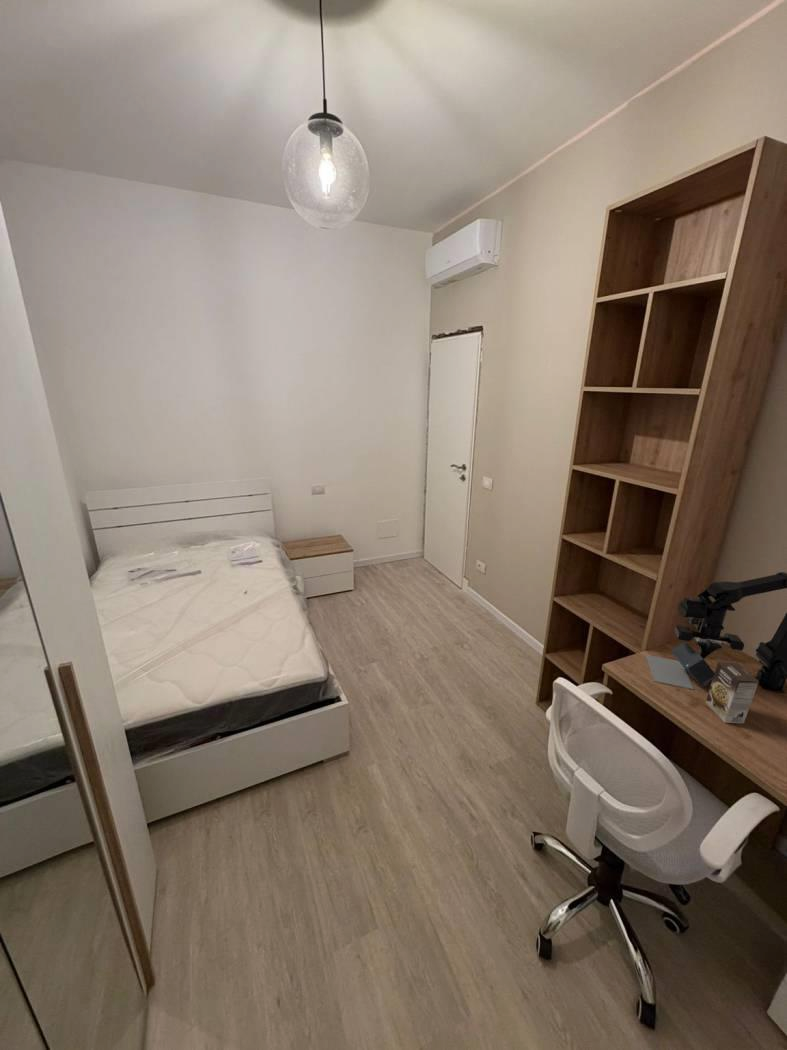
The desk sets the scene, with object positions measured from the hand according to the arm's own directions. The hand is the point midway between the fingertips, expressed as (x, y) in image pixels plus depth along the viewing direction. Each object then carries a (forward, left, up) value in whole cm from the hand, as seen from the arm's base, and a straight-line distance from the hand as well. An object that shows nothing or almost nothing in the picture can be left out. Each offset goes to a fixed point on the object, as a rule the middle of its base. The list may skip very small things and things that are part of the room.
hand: (702, 658), depth 147 cm
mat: (+9, 0, -8) cm, 12 cm away
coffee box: (-3, +16, -9) cm, 19 cm away
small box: (-1, 0, -6) cm, 6 cm away
